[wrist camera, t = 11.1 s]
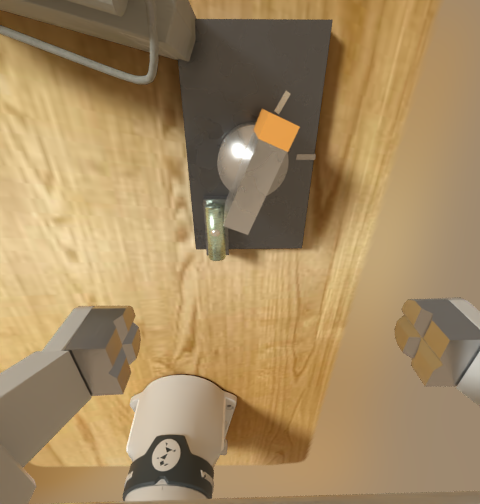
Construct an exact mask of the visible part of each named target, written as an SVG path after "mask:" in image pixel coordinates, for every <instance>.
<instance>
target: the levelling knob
mask: <svg viewBox="0 0 480 504" xmlns="http://www.w3.org/2000/svg"><path fill="white" fill-rule="evenodd" d="M299 128H300V127H299V126H297V125H295V124H293V123H291V122H289V121H287V120H285V119H283V118H281V117H279V116H277V115H275V114H273V113H271V112H268V111H266V110H264V109H261V112H260V114H259V117H258V119H257V122H247V123H243V124H240V125H238V126H236V127H234V128H233V129H232V130H230V131H229V132H228V134H227V135H226V136H225V138H224V139H223V141H222V144H221V147H220V150H219V154H218V160H217V167H218V172H219V176H220V178H221V180H222V182H223V184H224V185H225V186H226V188H227V189H228V190H229V191H230V192H229V194H228V197H227V199H226V202H225V210H224V222H223V226H224V227H227V228H230V229H233V230H235V231H238V232H241V233H244V234H247V235H248V234H249V232H250V229H251V227H252V225H253V223H254V221H255V219H256V217H257V215H258V212H259V210H260V208H261V206H262V204H263V202H264V200H265V198H266V196H267V195H269V194H271V193H272V192H274V191H275V190H276V189H277V188H278V187H279V186H280V185H281V183H282V182H283V180H284V178H285V176H286V174H287V170H288V163H289V159H288V153H287V152H288V151H289V149H290V147H291V145H292V143H293V140H294V138H295V136H296V134H297V132H298V130H299Z"/></svg>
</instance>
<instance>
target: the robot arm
mask: <svg viewBox="0 0 480 504" xmlns="http://www.w3.org/2000/svg"><path fill="white" fill-rule="evenodd" d="M402 312H403V313H404V316H403V317H402V318H400V319H399V320H398V321H397V323H396V326H395V338H396V341H397V344H398V346H399V347H400V349H401V351H402V352H403V353H405V354H406V355H407V356H409V357H411V358H412V362H411V366H412V367H413V369H414V370H415V372H416V373H417V375H418V376H419V378H420V380H421V381H422V383H423V384H424V385H425V386H457V387H456V388H457V389H458V390H460V391H461V392H462V393H463V394H465V395H466V396H467V397H468V398H470V399H471V400H472V401H473V402H475V403H476V404H477V405H479V406H480V311H479V310H478V309H477V308H475V307H474V306H473V305H472V304H471V303H470V302H469V301H467V300H465V299H463V298H460V297H459V298H442V299H409V300H407V301H406V302H405V303H404V305H403V307H402ZM134 318H135V313H134V310H133V307H131V306H78V307H76V308H74V309H73V311H72V312H71V313H70V314H69V316H68V317H67V318H66V320H65V321H64V322H63V324H62V325H61V326H60V328H59V329H58V330H57V332H56V333H55V334H54V336H53V337H52V338H51V340H50V341H49V342H48V343H47V345H46V346H45V347H44V349H43V350H42V351H36V352H34V353H32V354H31V355H29V356H28V357H26V358H24V359H23V360H21V361H20V362H18V363H16V364H15V365H13V366H11V367H10V368H8V369H7V370H5V371H3V372H2V373H0V504H28V503H29V501H30V499H31V496H32V494H33V492H34V490H35V488H36V484H35V480H34V479H33V478H32V477H31V476H30V475H29V474H28V473H27V472H26V470H25V469H24V468H23V467H24V466H25V465H26V464H27V463H28V462H29V461H30V460H31V459H32V458H33V457H34V456H35V455H36V454H37V453H38V452H39V451H40V450H41V449H42V448H43V447H44V446H45V445H46V444H47V443H48V442H49V441H50V440H51V439H52V438H53V437H54V436H55V435H56V434H57V433H58V431H59V430H60V429H61V428H62V427H63V426H64V425H65V424H66V423H67V422H68V421H69V420H70V419H71V418H72V417H73V416H74V415H75V414H76V413H77V412H78V411H79V410H80V409H81V408H82V407H83V406H84V405H85V404H86V403H87V402H88V401H89V400H90V399H91V396H98V395H116V394H123V393H124V390H125V388H126V385H127V382H128V380H129V377H130V374H131V370H130V367H129V365H130V364H131V363H132V362H133V361H134V360H135V359H136V358H137V355H138V352H139V349H140V341H141V338H140V330H139V327H138V326H137V325H136V324H134V323H133V320H134ZM236 403H237V397H236V396H235V395H233V394H231V393H228V392H225V391H223V390H221V389H220V388H219V387H218V386H216V385H215V384H214V383H212V382H210V381H208V380H206V379H203V378H200V377H196V376H190V375H171V376H166V377H162V378H159V379H157V380H155V381H153V382H151V383H150V384H149V385H148V386H147V387H146V388H145V389H144V391H143V392H141V393H139V394H137V395H135V396H133V397H132V398H131V401H130V406H131V408H132V409H133V410H134V412H135V415H134V419H133V423H132V427H131V431H130V435H129V439H128V443H127V448H126V451H127V453H128V455H129V457H130V458H131V459H132V462H133V463H132V464H131V466H130V470H129V473H128V476H127V478H126V482H125V489H124V493H123V500H124V501H119V502H88V503H87V502H86V503H53V504H480V491H454V492H421V493H388V494H387V493H386V494H353V495H319V496H287V497H255V498H254V497H253V498H219V499H212V493H213V487H214V482H213V477H214V470H213V468H214V466H215V464H216V462H217V460H218V458H219V456H220V455H226V454H227V440H226V439H225V437H226V434H227V431H228V428H229V425H230V422H231V419H232V416H233V413H234V410H235V407H236Z"/></svg>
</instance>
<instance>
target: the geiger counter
mask: <svg viewBox="0 0 480 504" xmlns="http://www.w3.org/2000/svg"><path fill="white" fill-rule="evenodd" d="M0 10H2V11H6V12H10V13H13V14H17V15H20V16H24V17H27V18H31V19H34V20H38V21H41V22H45V23H48V24H52V25H55V26H59V27H62V28H66V29H69V30H73V31H76V32H80V33H83V34H87V35H90V36H94V37H97V38H101V39H104V40H108V41H111V42H115V43H118V44H122V45H125V46H129V47H132V48H136V49H140V50H143V51H147V52H150V63H149V72H148V74H147V75H145V76H136V75H132V74H129V73H126V72H123V71H120V70H117V69H114V68H111V67H109V66H106V65H104V64H101V63H98V62H96V61H93V60H90V59H88V58H85V57H83V56H80V55H77V54H75V53H72V52H70V51H67V50H64V49H62V48H59V47H56V46H54V45H51V44H49V43H46V42H43V41H41V40H38V39H36V38H33V37H30V36H28V35H25V34H22V33H20V32H17V31H15V30H12V29H9V28H7V27H4V26H2V25H0V34H2V35H5V36H8V37H10V38H13V39H15V40H18V41H21V42H23V43H26V44H29V45H31V46H34V47H37V48H39V49H42V50H44V51H47V52H50V53H52V54H55V55H58V56H60V57H63V58H66V59H68V60H71V61H74V62H76V63H79V64H81V65H84V66H87V67H89V68H92V69H95V70H97V71H100V72H103V73H105V74H108V75H111V76H114V77H117V78H119V79H122V80H125V81H128V82H132V83H136V84H149V83H151V82H153V80H154V78H155V76H156V74H157V68H158V55H161V56H164V57H168V58H171V59H175V60H178V59H181V60H185V61H189V60H190V57H191V54H192V50H193V47H194V44H195V40H196V35H195V19H196V16H195V14H194V12H193V10H192V8H191V5H190V3H189V1H188V0H0Z"/></svg>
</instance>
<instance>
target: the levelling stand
mask: <svg viewBox="0 0 480 504" xmlns="http://www.w3.org/2000/svg"><path fill="white" fill-rule="evenodd" d="M331 27H332V20H266V19H195V35H196V40H195V44H194V47H193V50H192V54H191V57H190V60H189V61H185V60H181V59H178V66H179V76H180V87H181V97H182V107H183V118H184V128H185V139H186V149H187V160H188V170H189V180H190V191H191V201H192V212H193V222H194V233H195V243H196V249H207V255H209V258H210V259H211V260H213V261H220V260H223V259H224V258H225V257H226V255H229V249H280V248H302V243H303V236H304V228H305V221H306V213H307V206H308V198H309V191H310V184H311V176H312V169H313V161H314V160H315V156H316V154H315V146H316V139H317V132H318V124H319V117H320V109H321V102H322V94H323V87H324V79H325V72H326V65H327V57H328V50H329V42H330V35H331ZM261 109H264V110H266V111H268V112H271V113H273V114H275V115H277V116H279V117H281V118H283V119H285V120H287V121H289V122H291V123H293V124H295V125H297V126H299V127H300V128H299V130H298V132H297V134H296V136H295V138H294V140H293V143H292V145H291V147H290V149H289V151H288V152H287V153H288V159H289V163H288V170H287V174H286V176H285V178H284V180H283V182H282V183H281V185H280V186H279V187H278V188H277V189H276V190H275V191H274V192H272V193H271V194H269V195H267V196H266V198H265V200H264V202H263V204H262V206H261V208H260V210H259V212H258V215H257V217H256V219H255V221H254V223H253V225H252V227H251V229H250V232H249V234H248V235H247V234H244V233H241V232H238V231H235V230H233V229H230V228H227V227H224V226H223V222H224V210H225V202H226V199H227V197H228V194H229V192H230V191H229V190H228V189H227V188H226V186H225V185H224V184H223V182H222V180H221V178H220V176H219V172H218V167H217V160H218V154H219V150H220V147H221V144H222V141H223V139H224V138H225V136H226V135H227V134H228V132H229V131H230V130H232V129H233V128H234V127H236V126H238V125H240V124H243V123H247V122H257V119H258V117H259V114H260V112H261Z"/></svg>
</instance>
